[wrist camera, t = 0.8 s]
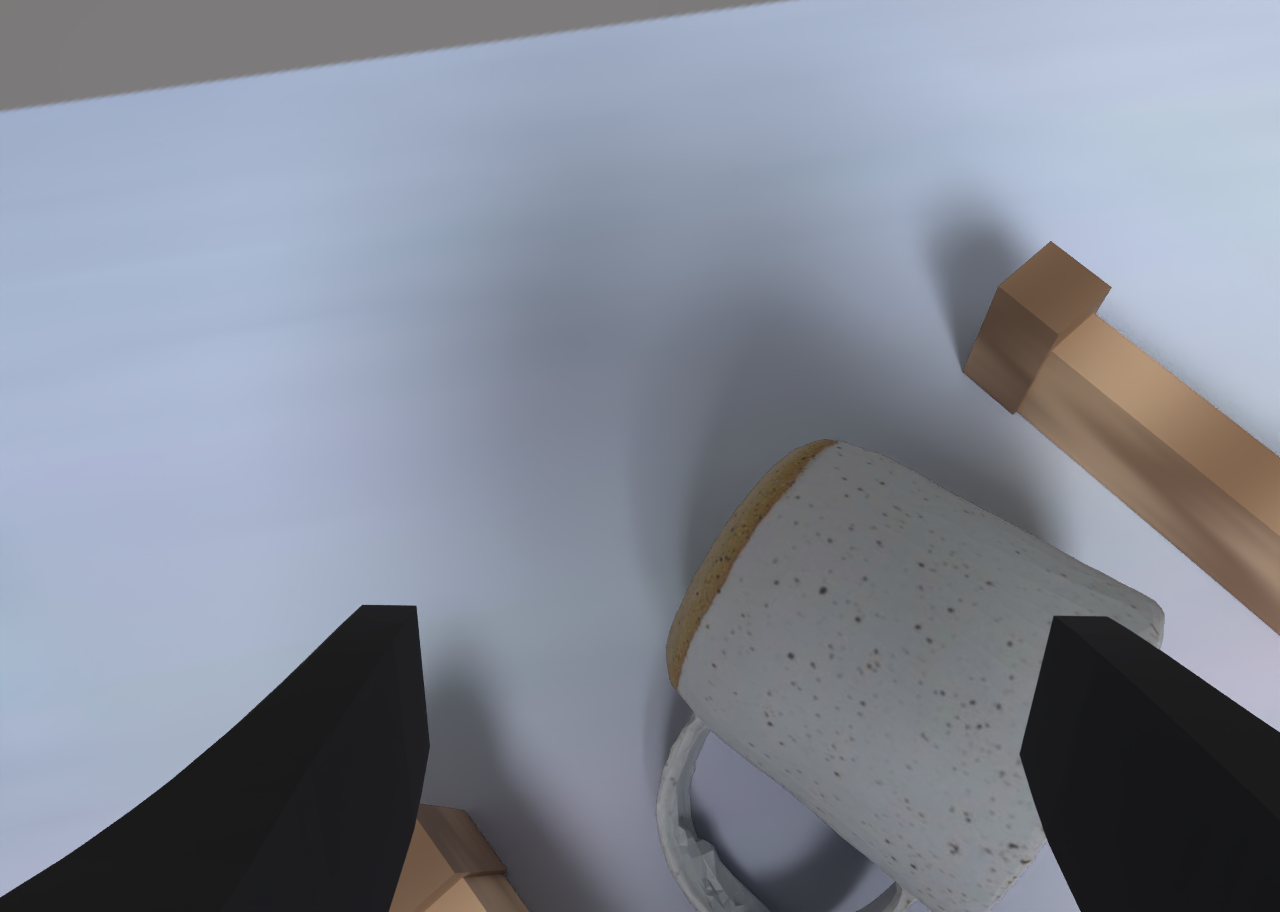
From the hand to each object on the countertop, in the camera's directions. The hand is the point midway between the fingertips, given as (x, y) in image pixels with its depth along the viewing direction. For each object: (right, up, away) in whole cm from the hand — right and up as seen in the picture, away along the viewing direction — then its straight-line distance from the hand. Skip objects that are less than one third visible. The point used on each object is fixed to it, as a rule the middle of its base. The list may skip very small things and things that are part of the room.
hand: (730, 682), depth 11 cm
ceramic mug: (+4, -4, +13) cm, 15 cm away
